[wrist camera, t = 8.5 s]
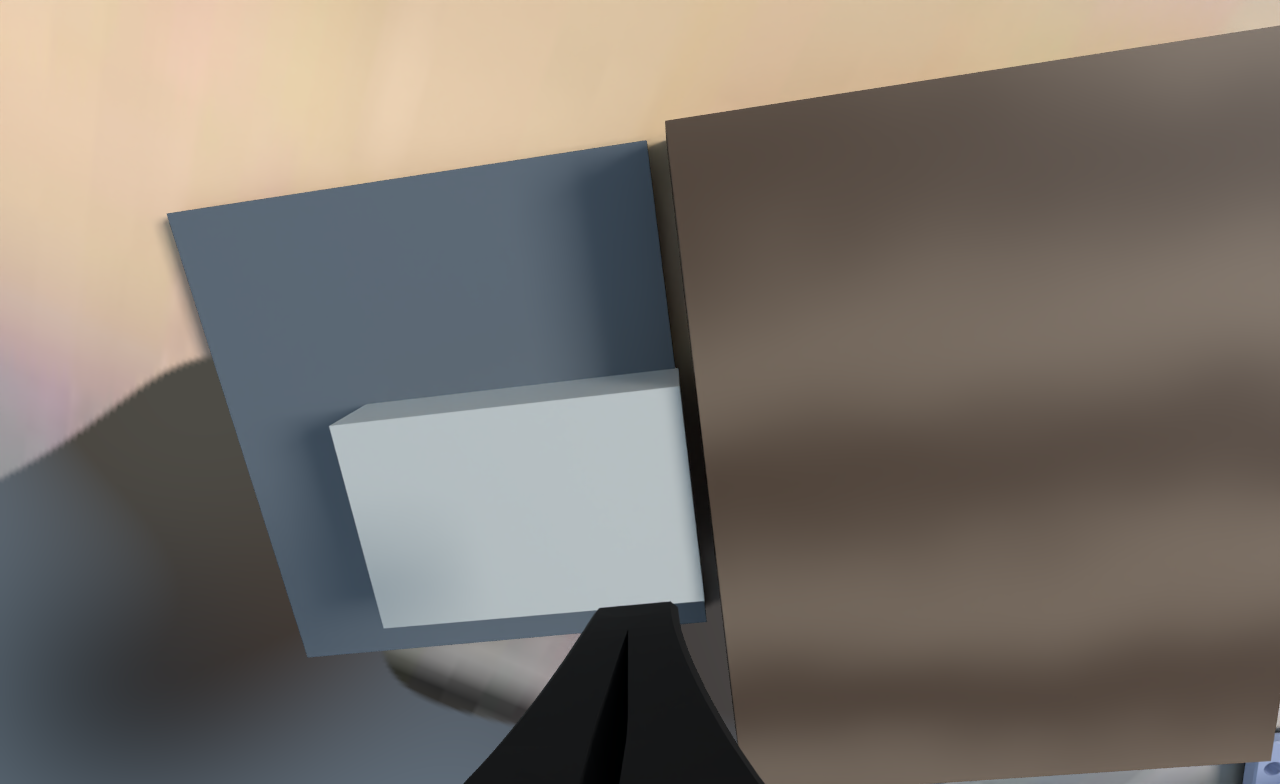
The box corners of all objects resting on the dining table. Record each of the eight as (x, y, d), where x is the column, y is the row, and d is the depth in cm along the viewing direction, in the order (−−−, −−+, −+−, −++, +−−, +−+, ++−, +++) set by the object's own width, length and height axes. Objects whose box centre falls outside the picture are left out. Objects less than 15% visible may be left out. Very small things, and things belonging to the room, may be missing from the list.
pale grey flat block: (678, 368, 17) (679, 386, 15) (701, 561, 19) (704, 600, 17) (366, 404, 18) (328, 426, 16) (412, 588, 19) (383, 628, 17)
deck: (1181, 681, 19) (1270, 760, 16) (733, 715, 20) (744, 795, 18) (1244, 51, 15) (1382, 9, 12) (666, 139, 16) (665, 120, 13)
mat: (705, 612, 20) (706, 621, 19) (315, 647, 21) (307, 657, 20) (646, 142, 16) (646, 140, 16) (181, 214, 17) (166, 213, 17)
